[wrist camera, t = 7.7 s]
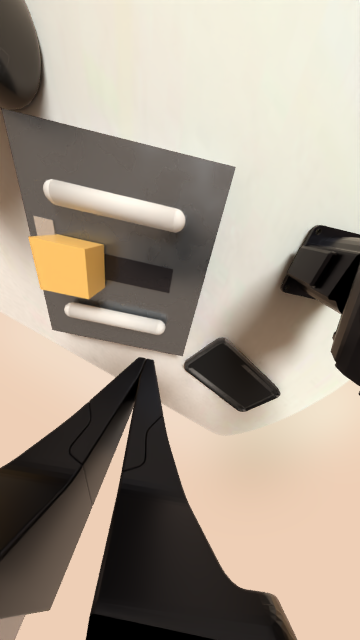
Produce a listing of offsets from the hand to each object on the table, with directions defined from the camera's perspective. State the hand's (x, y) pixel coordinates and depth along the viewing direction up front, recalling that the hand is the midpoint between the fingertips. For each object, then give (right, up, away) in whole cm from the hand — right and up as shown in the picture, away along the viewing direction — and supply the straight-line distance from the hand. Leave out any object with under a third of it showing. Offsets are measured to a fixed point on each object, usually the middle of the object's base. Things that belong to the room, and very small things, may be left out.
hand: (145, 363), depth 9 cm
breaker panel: (-4, +9, +9) cm, 13 cm away
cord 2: (-3, +11, +4) cm, 12 cm away
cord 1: (-5, +3, +9) cm, 11 cm away
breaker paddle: (-7, +8, +6) cm, 12 cm away
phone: (+10, -6, +17) cm, 21 cm away
